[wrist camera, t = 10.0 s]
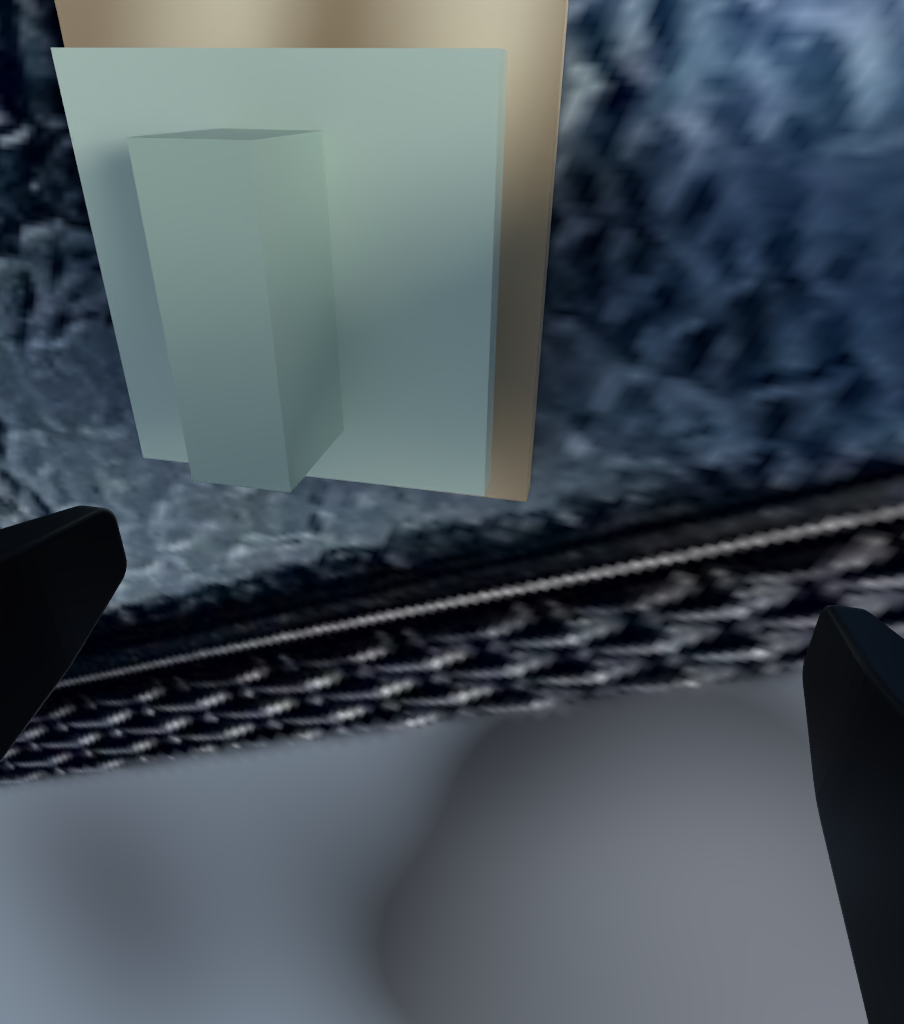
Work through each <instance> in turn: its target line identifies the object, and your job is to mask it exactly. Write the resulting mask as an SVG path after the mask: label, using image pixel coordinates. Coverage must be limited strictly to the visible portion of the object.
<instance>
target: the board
mask: <svg viewBox="0 0 904 1024" xmlns="http://www.w3.org/2000/svg"><path fill="white" fill-rule="evenodd" d="M55 4H56V9H57V14H58V18H59V23H60V28H61V32H62V37H63V42H64V46H65V48H501V49H505V50H508V65H507V89H506V113H505V138H504V162H503V187H502V211H501V236H500V260H499V284H498V309H497V333H496V358H495V382H494V407H493V431H492V456H491V479H490V482H489V485H488V487H487V490H486V493H485V495H484V496H481V497H490V498H498V499H507V500H515V501H523V502H526V501H527V498H528V494H529V490H530V480H531V467H532V454H533V442H534V429H535V417H536V404H537V391H538V379H539V366H540V353H541V341H542V328H543V316H544V303H545V290H546V278H547V265H548V252H549V240H550V227H551V215H552V202H553V189H554V177H555V164H556V151H557V139H558V126H559V114H560V101H561V88H562V76H563V63H564V51H565V38H566V25H567V13H568V0H55ZM397 487H398V486H397ZM406 488H407V487H406ZM414 489H416V488H414ZM422 490H425V489H422ZM431 491H433V490H431ZM439 492H442V491H439ZM448 493H451V492H448ZM456 494H460V493H456ZM464 495H469V494H464ZM473 496H478V495H473Z"/></svg>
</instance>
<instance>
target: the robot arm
mask: <svg viewBox="0 0 904 1024" xmlns="http://www.w3.org/2000/svg"><path fill="white" fill-rule="evenodd" d="M126 567H127V560H126V555H125V551H124V547H123V543H122V539H121V535H120V532H119V528H118V524H117V520H116V517H115V516H114V514H113V513H112V512H111V511H110V510H108V509H106V508H99V507H91V506H84V505H83V506H76V507H72V508H69V509H66V510H63V511H59V512H56V513H53V514H49V515H46V516H43V517H39V518H36V519H33V520H29V521H26V522H23V523H19V524H16V525H13V526H9V527H6V528H3V529H0V761H1V760H2V758H3V757H4V756H5V754H6V753H7V752H8V750H9V749H10V748H11V746H12V745H13V744H14V742H15V741H16V740H17V738H18V737H19V736H20V734H21V733H22V732H23V730H24V729H25V727H26V726H27V725H28V723H29V722H30V721H31V719H32V718H33V717H34V715H35V714H36V713H37V711H38V710H39V709H40V707H41V706H42V705H43V703H44V702H45V701H46V699H47V698H48V696H49V695H50V694H51V692H52V691H53V690H54V688H55V687H56V686H57V684H58V683H59V682H60V680H61V679H62V677H63V676H64V675H65V673H66V672H67V670H68V669H69V667H70V666H71V664H72V663H73V661H74V660H75V658H76V656H77V655H78V653H79V652H80V650H81V648H82V647H83V645H84V643H85V642H86V640H87V638H88V637H89V635H90V633H91V632H92V630H93V628H94V626H95V625H96V623H97V621H98V620H99V618H100V616H101V615H102V613H103V611H104V610H105V608H106V606H107V605H108V603H109V601H110V600H111V598H112V596H113V595H114V593H115V591H116V590H117V588H118V586H119V585H120V583H121V581H122V580H123V578H124V575H125V572H126ZM803 688H804V698H805V707H806V716H807V725H808V735H809V743H810V753H811V763H812V772H813V781H814V789H815V796H816V801H817V807H818V812H819V816H820V821H821V825H822V830H823V833H824V838H825V842H826V846H827V851H828V854H829V859H830V863H831V868H832V872H833V876H834V880H835V884H836V889H837V893H838V897H839V901H840V906H841V910H842V914H843V918H844V922H845V926H846V931H847V935H848V939H849V943H850V948H851V952H852V956H853V960H854V964H855V969H856V973H857V977H858V981H859V985H860V990H861V994H862V998H863V1002H864V1006H865V1011H866V1015H867V1019H868V1024H904V639H903V638H902V637H901V636H899V635H898V634H897V633H895V632H894V631H893V630H891V629H890V628H889V627H888V626H886V625H885V624H884V623H882V622H881V621H880V620H879V619H877V618H876V617H875V616H873V615H872V614H871V613H869V612H868V611H866V610H864V609H860V608H852V607H844V606H836V605H829V606H827V607H825V608H824V609H823V610H822V612H821V613H820V616H819V619H818V621H817V624H816V627H815V630H814V633H813V636H812V639H811V642H810V645H809V648H808V651H807V654H806V657H805V660H804V665H803Z"/></svg>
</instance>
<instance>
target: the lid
mask: <svg viewBox="0 0 904 1024" xmlns="http://www.w3.org/2000/svg"><path fill="white" fill-rule="evenodd" d="M51 52H52V56H53V61H54V65H55V69H56V74H57V78H58V83H59V87H60V92H61V96H62V100H63V105H64V109H65V114H66V118H67V123H68V127H69V131H70V136H71V140H72V145H73V149H74V154H75V158H76V162H77V167H78V171H79V176H80V180H81V185H82V189H83V193H84V198H85V202H86V207H87V211H88V216H89V220H90V224H91V229H92V233H93V238H94V242H95V246H96V251H97V255H98V260H99V264H100V269H101V273H102V277H103V282H104V286H105V291H106V295H107V300H108V304H109V308H110V313H111V317H112V322H113V326H114V331H115V335H116V339H117V344H118V348H119V353H120V357H121V362H122V366H123V370H124V375H125V379H126V384H127V388H128V393H129V397H130V401H131V406H132V410H133V415H134V419H135V423H136V428H137V432H138V437H139V441H140V446H141V450H142V454H143V458H150V459H159V460H168V461H177V462H186V463H189V466H190V471H191V477H192V481H197V482H206V483H214V484H223V485H231V486H240V487H248V488H257V489H265V490H273V491H282V492H290V493H291V492H292V490H293V489H294V488H295V487H296V486H297V485H298V483H299V482H300V481H301V480H302V479H303V478H304V476H310V477H318V478H327V479H336V480H345V481H354V482H363V483H371V484H380V485H389V486H398V487H407V488H416V489H425V490H433V491H442V492H451V493H460V494H469V495H478V496H484V495H485V493H486V490H487V487H488V485H489V482H490V479H491V456H492V431H493V407H494V382H495V358H496V333H497V309H498V284H499V260H500V236H501V211H502V187H503V162H504V138H505V113H506V89H507V65H508V50H505V49H501V48H51Z"/></svg>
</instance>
